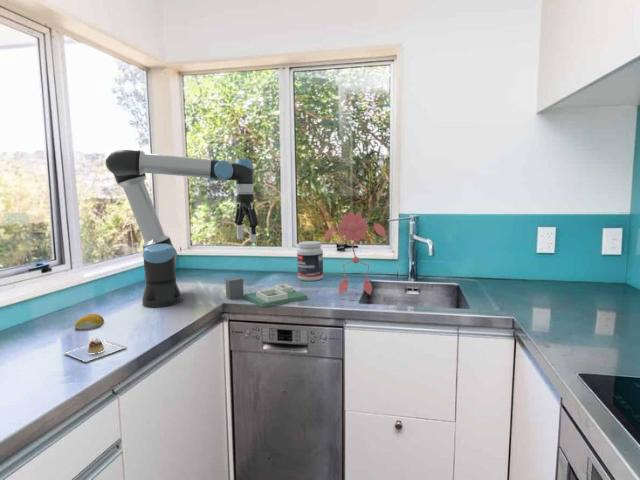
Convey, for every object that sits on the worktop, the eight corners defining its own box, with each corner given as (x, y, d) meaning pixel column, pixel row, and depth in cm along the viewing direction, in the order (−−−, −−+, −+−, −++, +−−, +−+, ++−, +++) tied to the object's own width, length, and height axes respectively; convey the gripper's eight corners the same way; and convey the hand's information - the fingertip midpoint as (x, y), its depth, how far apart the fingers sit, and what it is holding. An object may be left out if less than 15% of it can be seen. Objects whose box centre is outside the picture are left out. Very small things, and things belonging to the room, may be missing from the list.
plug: (230, 299, 170) (229, 280, 169) (226, 297, 174) (225, 279, 173) (245, 297, 173) (244, 278, 172) (241, 295, 177) (240, 276, 176)
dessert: (63, 356, 115) (61, 340, 115) (105, 343, 125) (104, 327, 125) (85, 365, 109) (84, 348, 108) (128, 350, 119) (126, 334, 118)
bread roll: (106, 321, 146) (105, 310, 145) (98, 329, 137) (97, 317, 137) (80, 323, 144) (79, 312, 144) (71, 331, 135) (70, 319, 135)
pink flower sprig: (328, 290, 181) (326, 211, 176) (387, 292, 175) (386, 210, 170) (319, 300, 167) (316, 214, 162) (383, 303, 160) (382, 213, 155)
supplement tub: (294, 281, 202) (292, 244, 199) (302, 275, 214) (301, 240, 212) (319, 282, 198) (318, 244, 196) (326, 276, 210) (325, 241, 208)
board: (262, 307, 157) (262, 298, 157) (244, 297, 172) (244, 289, 172) (307, 298, 168) (307, 290, 167) (286, 290, 183) (286, 282, 183)
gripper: (265, 193, 178) (266, 242, 180) (241, 193, 198) (242, 237, 201) (249, 193, 174) (250, 243, 176) (226, 193, 194) (228, 238, 197)
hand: (246, 240), depth 188 cm, fingers open, 13 cm apart
